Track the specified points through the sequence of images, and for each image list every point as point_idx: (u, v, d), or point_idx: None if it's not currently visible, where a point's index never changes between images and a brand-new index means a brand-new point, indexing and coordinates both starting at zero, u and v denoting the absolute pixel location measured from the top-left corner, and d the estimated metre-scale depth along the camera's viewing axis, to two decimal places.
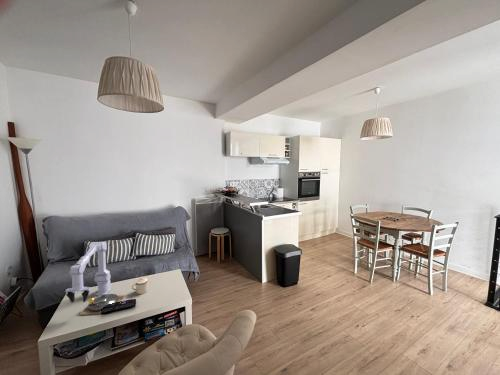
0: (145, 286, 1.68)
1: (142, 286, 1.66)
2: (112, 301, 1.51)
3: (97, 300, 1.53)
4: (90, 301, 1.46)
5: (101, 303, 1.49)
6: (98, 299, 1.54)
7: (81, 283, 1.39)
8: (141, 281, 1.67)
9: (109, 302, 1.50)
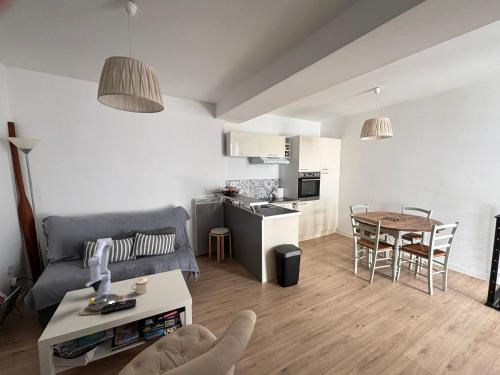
0: (145, 286, 1.68)
1: (142, 286, 1.66)
2: (112, 301, 1.51)
3: (97, 300, 1.53)
4: (90, 301, 1.46)
5: (101, 303, 1.49)
6: (98, 299, 1.54)
7: (91, 275, 1.50)
8: (141, 281, 1.67)
9: (109, 302, 1.50)
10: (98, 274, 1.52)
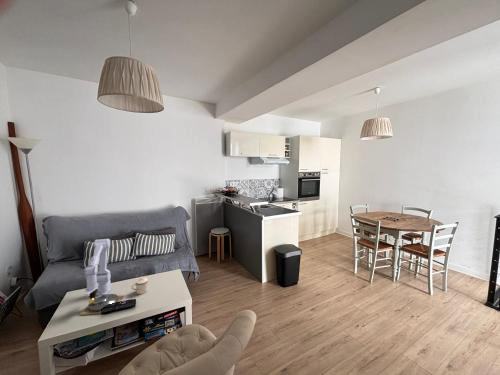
0: (145, 286, 1.68)
1: (142, 286, 1.66)
2: (112, 301, 1.51)
3: (97, 300, 1.53)
4: (90, 301, 1.46)
5: (101, 303, 1.49)
6: (98, 299, 1.54)
7: (88, 285, 1.47)
8: (141, 281, 1.67)
9: (109, 302, 1.50)
10: (96, 282, 1.50)
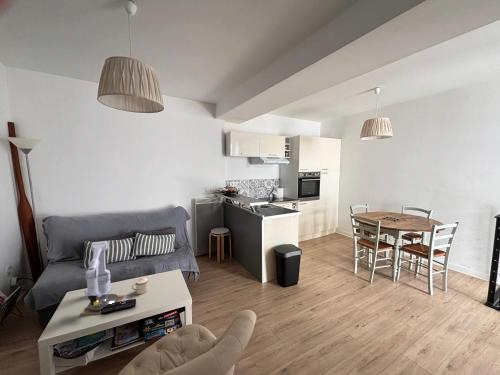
0: (145, 286, 1.68)
1: (142, 286, 1.66)
2: (114, 296, 1.57)
3: None
4: (97, 303, 1.44)
5: (106, 302, 1.51)
6: None
7: (94, 288, 1.43)
8: (141, 281, 1.67)
9: (113, 298, 1.55)
10: None
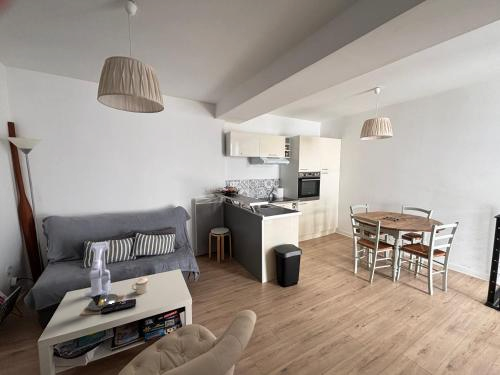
0: (145, 286, 1.68)
1: (142, 286, 1.66)
2: (112, 295, 1.59)
3: None
4: (102, 302, 1.45)
5: (108, 300, 1.52)
6: (94, 305, 1.47)
7: (99, 287, 1.44)
8: (141, 281, 1.67)
9: (112, 296, 1.57)
10: None
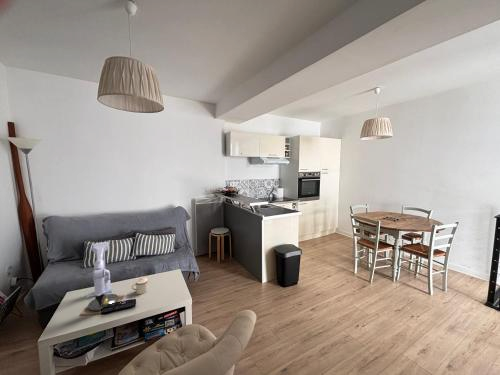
0: (145, 286, 1.68)
1: (142, 286, 1.66)
2: (109, 295, 1.59)
3: (98, 305, 1.47)
4: (107, 300, 1.47)
5: (109, 299, 1.53)
6: (96, 305, 1.47)
7: (103, 286, 1.45)
8: (141, 281, 1.67)
9: (110, 296, 1.58)
10: None
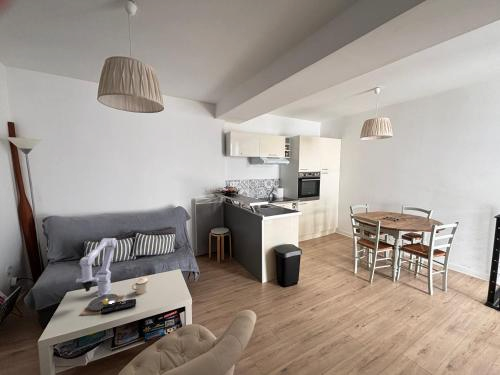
0: (145, 286, 1.68)
1: (142, 286, 1.66)
2: (109, 295, 1.59)
3: (98, 305, 1.47)
4: (107, 300, 1.47)
5: (109, 299, 1.53)
6: (96, 305, 1.47)
7: (90, 274, 1.52)
8: (141, 281, 1.67)
9: (110, 296, 1.58)
10: None
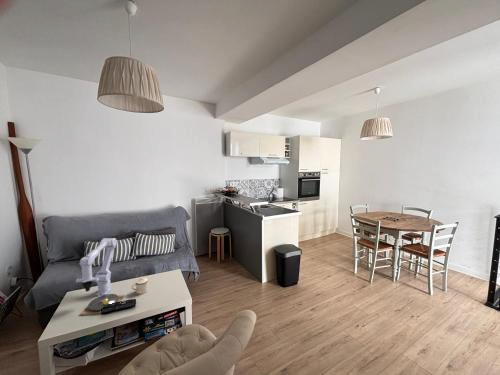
0: (145, 286, 1.68)
1: (142, 286, 1.66)
2: (109, 295, 1.59)
3: (98, 305, 1.47)
4: (107, 300, 1.47)
5: (109, 299, 1.53)
6: (96, 305, 1.47)
7: (90, 274, 1.52)
8: (141, 281, 1.67)
9: (110, 296, 1.58)
10: None
